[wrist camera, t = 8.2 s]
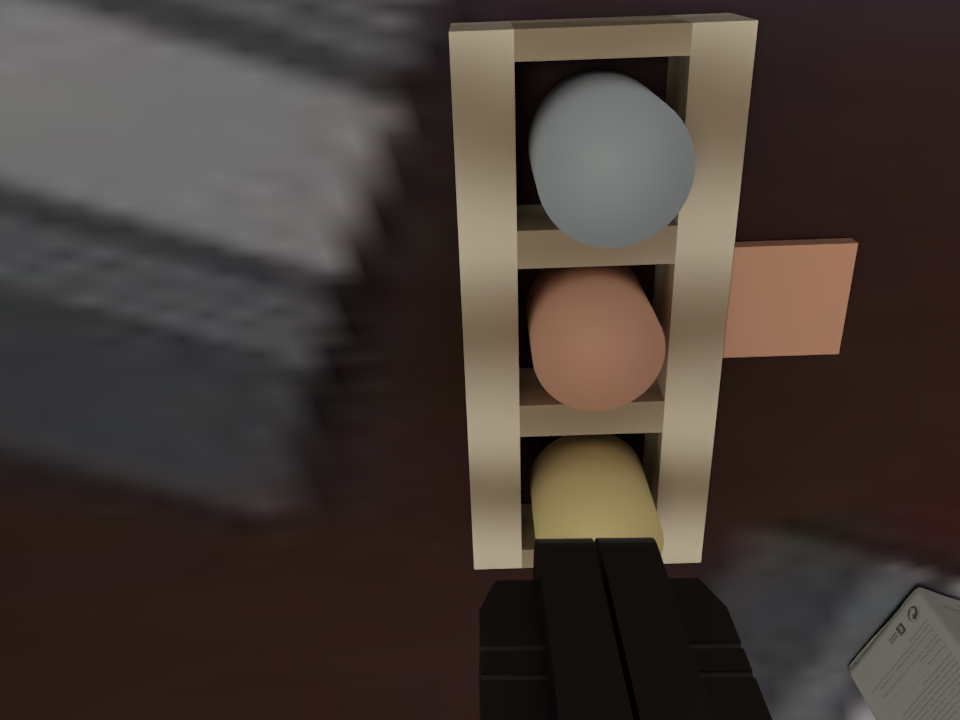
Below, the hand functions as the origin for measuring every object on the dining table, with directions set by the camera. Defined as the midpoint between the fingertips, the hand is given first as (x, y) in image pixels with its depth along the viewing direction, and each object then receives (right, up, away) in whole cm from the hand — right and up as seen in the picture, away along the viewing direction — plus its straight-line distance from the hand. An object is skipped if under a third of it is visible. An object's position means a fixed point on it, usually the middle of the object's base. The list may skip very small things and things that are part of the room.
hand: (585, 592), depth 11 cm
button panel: (+3, +5, +21) cm, 21 cm away
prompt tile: (+10, +5, +21) cm, 23 cm away
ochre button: (+3, -2, +22) cm, 22 cm away
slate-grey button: (+2, +10, +16) cm, 19 cm away
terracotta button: (+3, +5, +20) cm, 21 cm away
